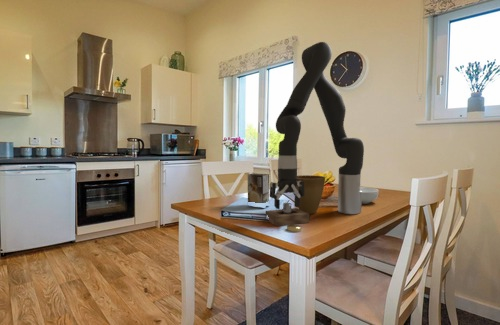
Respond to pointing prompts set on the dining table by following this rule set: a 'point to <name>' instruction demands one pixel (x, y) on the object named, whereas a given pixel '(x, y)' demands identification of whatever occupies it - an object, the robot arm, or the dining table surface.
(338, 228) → the dining table surface
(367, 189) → the cereal bowl
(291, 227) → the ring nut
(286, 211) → the pin
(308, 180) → the plant pot
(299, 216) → the slot block
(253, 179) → the coffee box
